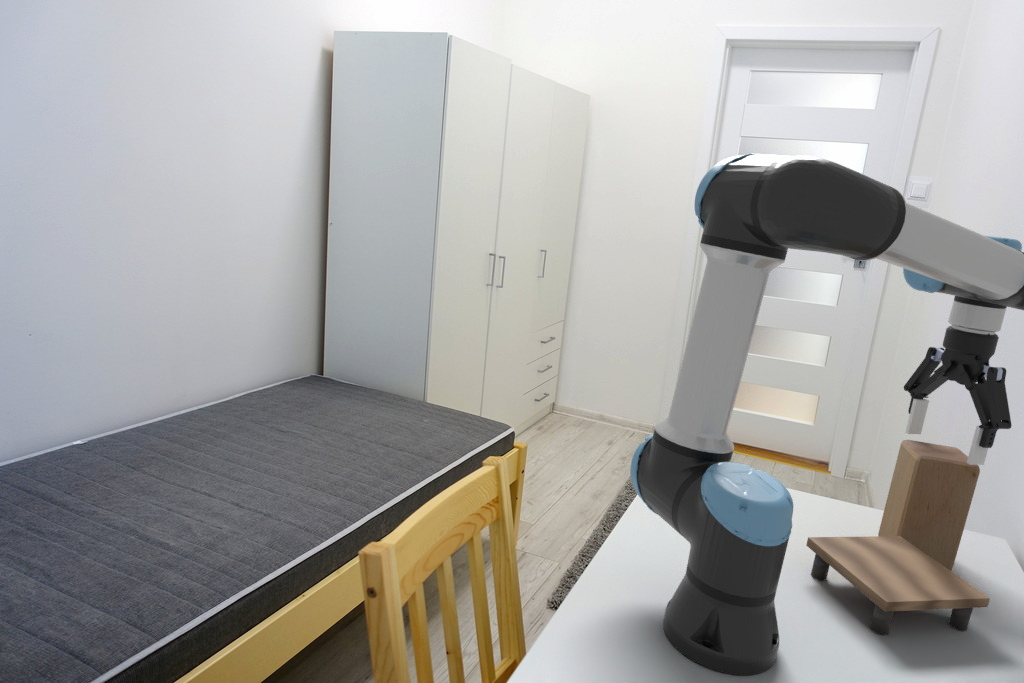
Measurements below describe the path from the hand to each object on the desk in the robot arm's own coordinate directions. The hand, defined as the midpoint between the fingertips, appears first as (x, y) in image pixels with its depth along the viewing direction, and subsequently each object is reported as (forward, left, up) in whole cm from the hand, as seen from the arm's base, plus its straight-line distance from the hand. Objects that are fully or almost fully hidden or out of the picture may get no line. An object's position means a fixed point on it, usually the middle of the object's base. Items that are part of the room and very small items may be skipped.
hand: (942, 448), depth 124 cm
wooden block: (0, 0, -21) cm, 21 cm away
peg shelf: (-17, -13, -21) cm, 30 cm away
